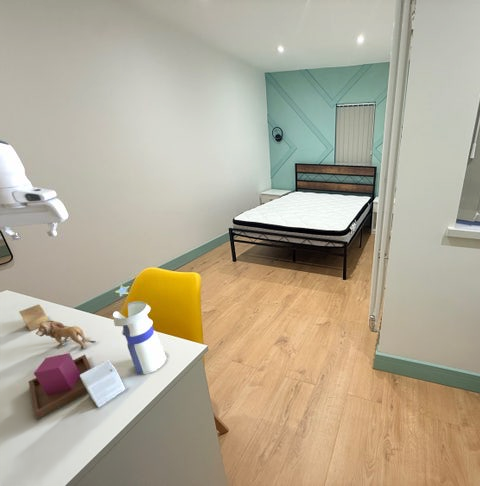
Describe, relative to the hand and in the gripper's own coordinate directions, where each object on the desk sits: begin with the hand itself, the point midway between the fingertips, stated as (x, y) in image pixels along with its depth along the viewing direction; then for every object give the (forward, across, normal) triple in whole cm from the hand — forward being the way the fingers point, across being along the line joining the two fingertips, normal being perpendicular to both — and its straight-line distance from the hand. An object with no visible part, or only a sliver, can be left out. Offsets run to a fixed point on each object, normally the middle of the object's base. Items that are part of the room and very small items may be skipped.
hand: (35, 237), depth 85 cm
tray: (+31, +13, -36) cm, 49 cm away
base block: (+31, -9, -2) cm, 32 cm away
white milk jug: (+31, +33, -35) cm, 57 cm away
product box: (+31, +25, -42) cm, 58 cm away
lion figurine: (+31, +7, -18) cm, 37 cm away
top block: (+30, +14, -36) cm, 49 cm away
